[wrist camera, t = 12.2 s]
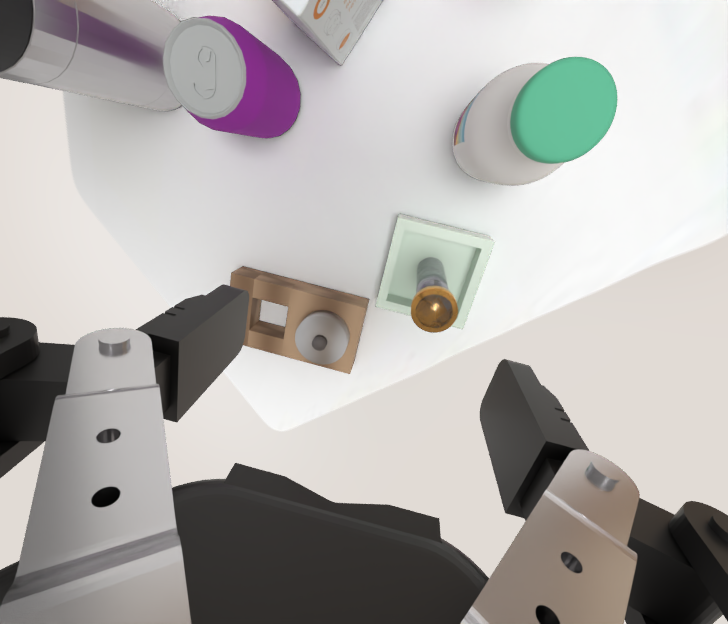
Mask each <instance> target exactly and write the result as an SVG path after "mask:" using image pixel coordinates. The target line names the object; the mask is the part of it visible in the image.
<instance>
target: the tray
mask: <svg viewBox="0 0 728 624" xmlns="http://www.w3.org/2000/svg"><path fill="white" fill-rule="evenodd" d="M494 243H495V241H494V240H493V239H492V238H491V237H490V236H487V235H483V234H479V233H475V232H471V231H467V230H463V229H459V228H455V227H451V226H447V225H443V224H439V223H435V222H431V221H427V220H422V219H418V218H414V217H410V216H406V215H402V214H399V216H398V218H397V222H396V226H395V230H394V234H393V238H392V242H391V246H390V250H389V254H388V258H387V262H386V266H385V270H384V274H383V278H382V282H381V286H380V290H379V294H378V298H377V302H376V306H375V307H379V308H382V309H386V310H390V311H394V312H398V313H402V314H405V315H409V316H411V303H412V300H413V298H414V296H415V295H416V283H417V267H418V264H419V263H420V262H421V261H422V260H423V259H425V258H428V257H433V258H436V259H438V260H440V261H441V262H442V264H443V266H444V271H445V275H446V280H447V284H448V289H449V291H450V292H451V293H452V294H453V295H454V297H455V299H456V302H457V306H458V315H457V318H456V320H455V322H454V323H453V325H452V326H451V327H455V328H459V329H463V328H464V325H465V322H466V320H467V317H468V314H469V311H470V309H471V306H472V303H473V300H474V298H475V295H476V292H477V290H478V287H479V284H480V281H481V279H482V276H483V273H484V271H485V268H486V265H487V262H488V260H489V257H490V254H491V252H492V249H493V246H494Z"/></svg>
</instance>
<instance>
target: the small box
mask: <svg viewBox="0 0 728 624" xmlns="http://www.w3.org/2000/svg"><path fill="white" fill-rule="evenodd" d="M272 1H273V2H274V3H275V4H276V5H277V6H278V7H279V8H280V9H281V10H282V11H283V12H284V13H285V15H286V16H287V17H288V18H289V19H290V20H291V21H292V22H293V23H294V24H295V25H296V26H298V27H299V28H300V29H301V30H302V31H303V32H304V33H305V34H306V35H307V36H308V37H310V38H311V39H312V40H313V41H314V42H315V43H316V44H317V45H318V46H319V47H320V48H321V49H322V50H324V51H325V52H326V53H327V54H328V55H329V56H330V57H331V58H332V59H333V60H334V61H336V62H337V63H338V64H339V65H342V64H343V62H344V61H345V59H346V58H347V56H348V55H349V53H350V51H351V50H352V48H353V47H354V45H355V44H356V42H357V41H358V39H359V37H360V36H361V34H362V33H363V31H364V29H365V28H366V26H367V25H368V23H369V21H370V20H371V18H372V17H373V15H374V14H375V12H376V10H377V9H378V7H379V6H380V4H381V2H382V1H383V0H272Z"/></svg>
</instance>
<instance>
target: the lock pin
mask: <svg viewBox="0 0 728 624" xmlns="http://www.w3.org/2000/svg"><path fill="white" fill-rule="evenodd" d="M457 315H458V306H457V302H456V299H455V297H454V295H453V294H452V293H451V292H450V291H449V289H448V284H447V280H446V275H445V271H444V266H443V264H442V262H441V261H440V260H438V259H436V258H433V257H428V258H425V259H423V260H422V261H421V262H420V263H419V264H418V267H417V283H416V295H415V296H414V298H413V300H412V303H411V316H412V319H413V321H414V323H415V324H416V325H417V326H418V327H419V328H421V329H422V330H424V331H427V332H441V331H444V330H446V329H448V328H449V327H450V326H452V325H453V323H454V322H455V320H456V318H457Z"/></svg>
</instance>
